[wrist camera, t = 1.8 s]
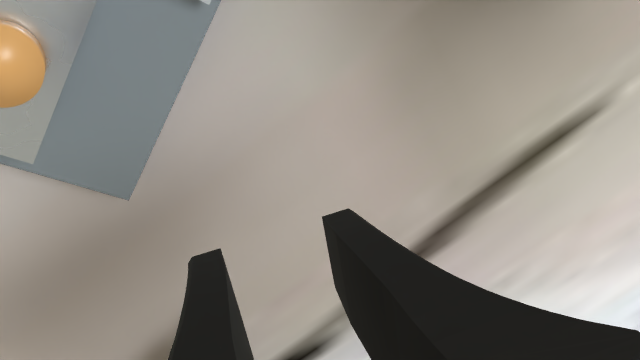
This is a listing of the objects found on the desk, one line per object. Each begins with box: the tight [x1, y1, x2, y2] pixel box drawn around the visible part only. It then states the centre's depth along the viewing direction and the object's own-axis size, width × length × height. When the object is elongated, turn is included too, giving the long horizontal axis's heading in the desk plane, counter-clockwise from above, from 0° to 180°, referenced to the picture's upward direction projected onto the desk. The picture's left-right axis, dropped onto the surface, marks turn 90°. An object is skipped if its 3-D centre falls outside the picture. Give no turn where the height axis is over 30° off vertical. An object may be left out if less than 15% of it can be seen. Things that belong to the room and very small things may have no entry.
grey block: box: [0, 0, 97, 164], centre depth 16 cm, size 3×5×4 cm, turn 151°
